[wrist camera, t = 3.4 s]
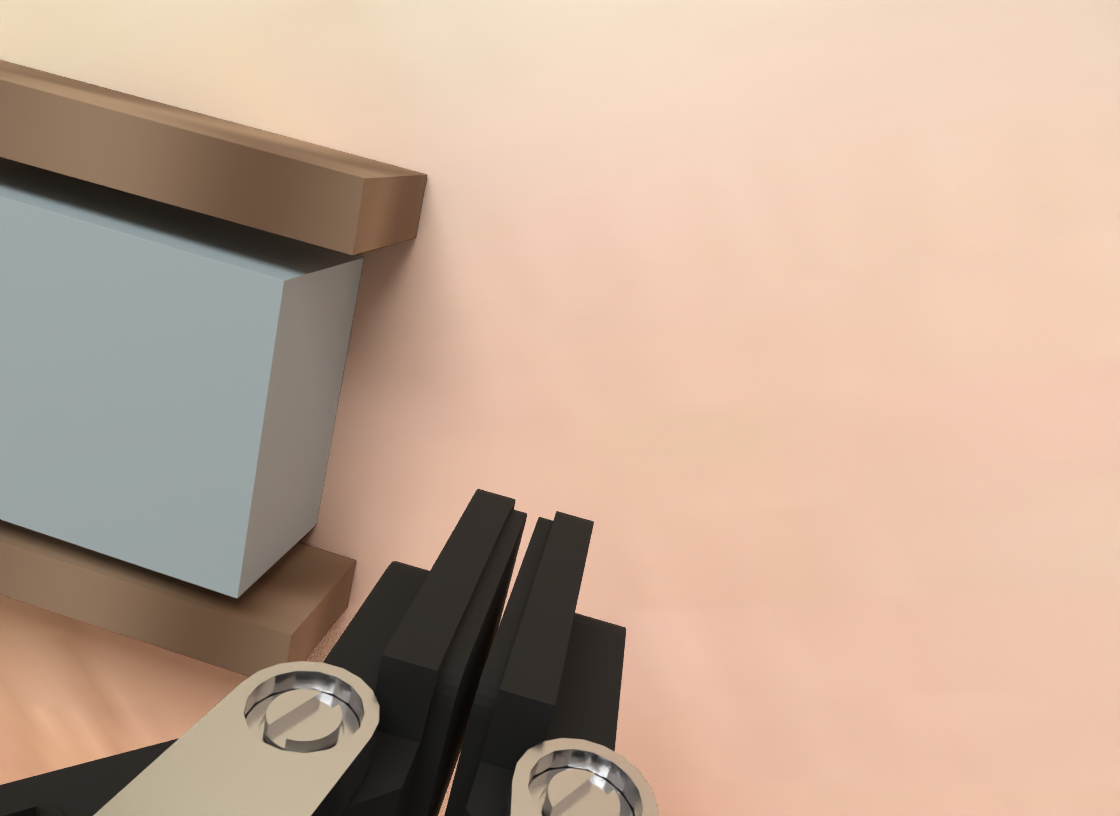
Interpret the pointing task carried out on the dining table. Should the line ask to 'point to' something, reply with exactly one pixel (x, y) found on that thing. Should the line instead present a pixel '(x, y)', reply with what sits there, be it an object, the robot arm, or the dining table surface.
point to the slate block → (164, 378)
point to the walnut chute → (235, 195)
